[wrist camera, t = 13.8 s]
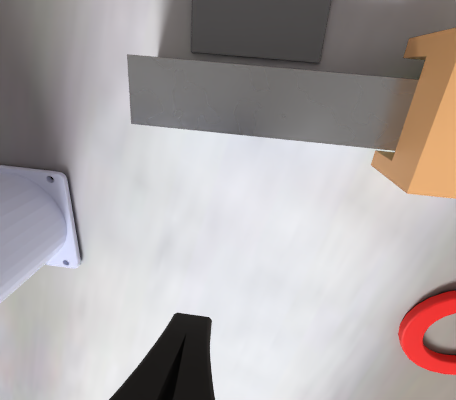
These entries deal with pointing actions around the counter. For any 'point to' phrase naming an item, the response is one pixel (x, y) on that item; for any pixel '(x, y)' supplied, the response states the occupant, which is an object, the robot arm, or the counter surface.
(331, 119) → the rail
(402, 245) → the counter surface
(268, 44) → the pad
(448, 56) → the peach cuboid block
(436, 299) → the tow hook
